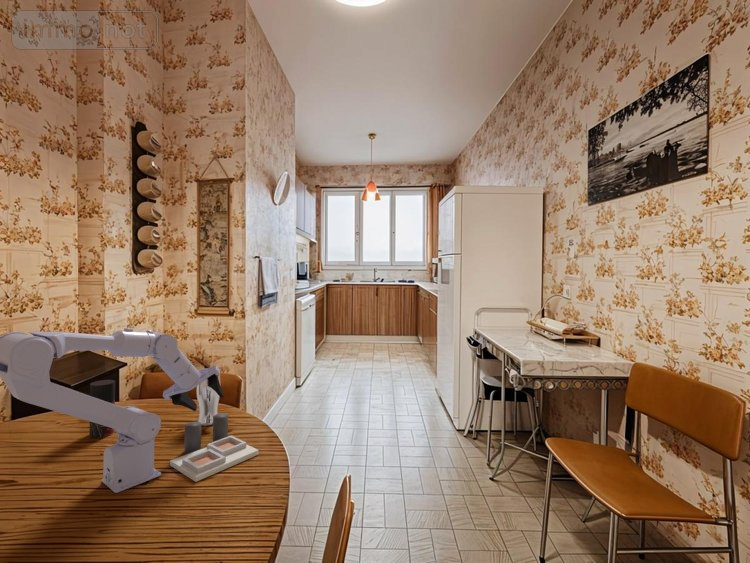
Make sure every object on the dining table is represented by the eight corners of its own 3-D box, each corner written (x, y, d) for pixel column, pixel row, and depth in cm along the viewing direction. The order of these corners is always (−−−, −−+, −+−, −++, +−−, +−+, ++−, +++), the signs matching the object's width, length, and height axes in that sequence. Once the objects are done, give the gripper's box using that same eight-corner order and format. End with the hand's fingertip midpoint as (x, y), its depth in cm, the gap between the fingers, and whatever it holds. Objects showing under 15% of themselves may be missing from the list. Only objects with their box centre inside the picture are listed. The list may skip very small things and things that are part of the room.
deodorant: (104, 438, 106) (105, 385, 106) (83, 437, 107) (84, 385, 106) (119, 430, 112) (119, 380, 112) (99, 429, 112) (100, 379, 112)
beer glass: (203, 428, 115) (204, 379, 115) (191, 422, 119) (192, 375, 119) (224, 421, 121) (225, 375, 120) (212, 416, 125) (213, 371, 125)
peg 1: (189, 455, 98) (189, 428, 98) (181, 450, 100) (181, 424, 100) (203, 449, 101) (204, 424, 101) (196, 445, 103) (196, 420, 103)
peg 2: (217, 444, 104) (218, 419, 104) (209, 440, 107) (210, 416, 107) (230, 439, 108) (231, 415, 108) (222, 436, 110) (223, 412, 110)
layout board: (195, 482, 85) (195, 471, 85) (170, 465, 93) (170, 455, 93) (258, 454, 99) (258, 445, 99) (232, 441, 106) (232, 433, 106)
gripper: (207, 346, 100) (232, 378, 108) (154, 372, 98) (184, 403, 105) (207, 363, 94) (234, 396, 102) (150, 391, 92) (182, 422, 100)
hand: (208, 401), depth 103 cm, fingers open, 7 cm apart
